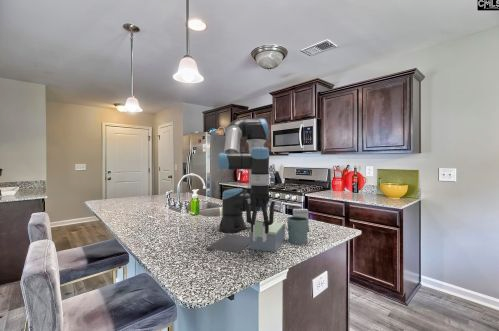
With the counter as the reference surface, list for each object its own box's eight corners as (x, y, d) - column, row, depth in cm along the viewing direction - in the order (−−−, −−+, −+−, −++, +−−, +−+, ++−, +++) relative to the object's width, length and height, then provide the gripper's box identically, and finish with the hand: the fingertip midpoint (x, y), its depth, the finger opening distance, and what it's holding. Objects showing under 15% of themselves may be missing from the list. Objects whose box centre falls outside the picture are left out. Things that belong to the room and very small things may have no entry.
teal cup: (295, 247, 113) (295, 221, 113) (282, 241, 122) (282, 217, 122) (312, 244, 118) (312, 219, 118) (299, 238, 127) (299, 215, 127)
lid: (245, 236, 105) (245, 221, 105) (261, 223, 126) (261, 210, 126) (272, 239, 101) (272, 223, 101) (284, 226, 122) (284, 212, 122)
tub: (249, 250, 110) (249, 232, 109) (261, 238, 126) (261, 223, 126) (275, 254, 105) (275, 235, 105) (284, 241, 122) (284, 225, 122)
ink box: (307, 228, 145) (307, 208, 145) (308, 231, 141) (308, 210, 140) (292, 228, 146) (292, 208, 146) (293, 230, 141) (293, 209, 141)
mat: (206, 250, 110) (206, 247, 110) (227, 236, 131) (227, 234, 131) (239, 254, 105) (239, 252, 105) (256, 239, 125) (256, 237, 125)
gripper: (238, 184, 103) (238, 240, 104) (277, 186, 97) (277, 245, 98) (244, 183, 110) (244, 235, 111) (281, 184, 104) (281, 240, 105)
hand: (259, 240), depth 104 cm, fingers closed on lid, 3 cm apart
